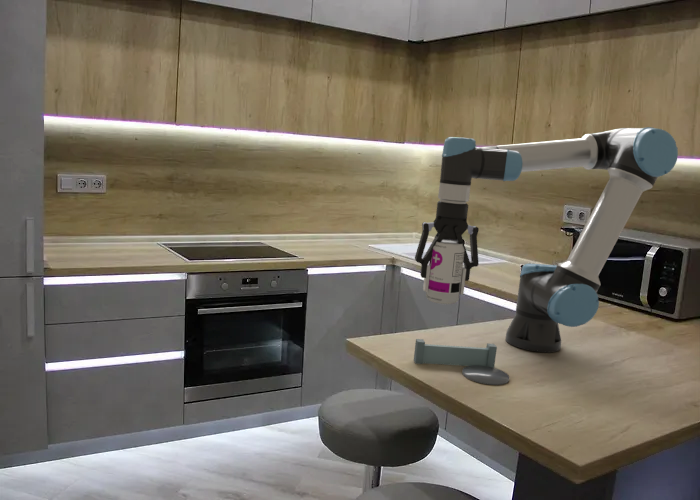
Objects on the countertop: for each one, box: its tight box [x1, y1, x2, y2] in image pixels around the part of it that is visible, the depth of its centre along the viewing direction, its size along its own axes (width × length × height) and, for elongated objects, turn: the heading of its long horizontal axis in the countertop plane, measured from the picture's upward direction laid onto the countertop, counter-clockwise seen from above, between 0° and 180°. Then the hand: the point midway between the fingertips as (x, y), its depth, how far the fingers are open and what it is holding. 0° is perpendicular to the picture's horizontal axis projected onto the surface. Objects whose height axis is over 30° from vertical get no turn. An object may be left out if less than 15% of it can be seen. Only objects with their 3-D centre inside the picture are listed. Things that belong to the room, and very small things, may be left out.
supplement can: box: [425, 239, 465, 306], centre depth 160 cm, size 8×8×15 cm
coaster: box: [461, 365, 510, 386], centre depth 153 cm, size 11×11×1 cm
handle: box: [413, 338, 498, 368], centre depth 159 cm, size 20×2×6 cm, turn 95°
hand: (443, 291), depth 160 cm, fingers closed on supplement can, 8 cm apart
